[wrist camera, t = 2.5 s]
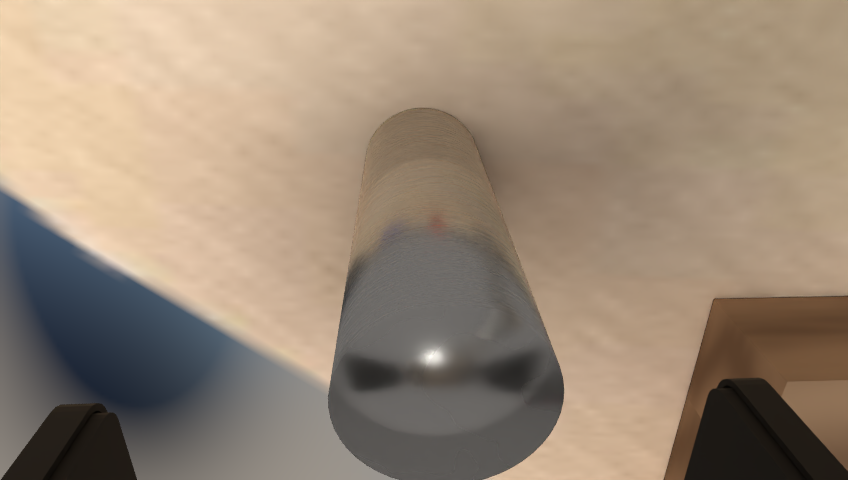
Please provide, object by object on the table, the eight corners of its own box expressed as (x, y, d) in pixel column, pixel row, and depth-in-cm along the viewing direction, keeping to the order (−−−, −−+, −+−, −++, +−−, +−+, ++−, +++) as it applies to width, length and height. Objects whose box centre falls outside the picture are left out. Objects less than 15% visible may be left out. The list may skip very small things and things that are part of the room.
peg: (362, 108, 19) (318, 308, 9) (480, 107, 20) (578, 302, 9) (368, 215, 21) (336, 488, 11) (475, 214, 21) (551, 482, 11)
